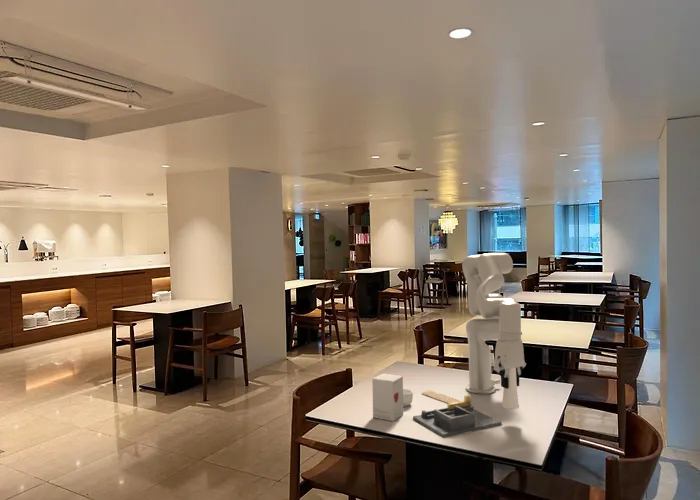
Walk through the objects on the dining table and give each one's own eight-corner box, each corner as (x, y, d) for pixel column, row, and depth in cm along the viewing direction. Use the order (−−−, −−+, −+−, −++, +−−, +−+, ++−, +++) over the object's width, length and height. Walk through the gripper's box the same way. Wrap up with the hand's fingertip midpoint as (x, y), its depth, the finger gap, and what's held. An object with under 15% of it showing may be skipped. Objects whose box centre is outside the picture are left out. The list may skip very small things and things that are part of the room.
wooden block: (468, 406, 191) (468, 394, 191) (471, 408, 190) (470, 395, 190) (447, 411, 187) (447, 398, 187) (449, 412, 186) (449, 399, 186)
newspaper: (421, 395, 213) (421, 391, 213) (433, 392, 217) (433, 388, 217) (461, 410, 193) (461, 406, 193) (473, 406, 197) (473, 402, 197)
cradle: (467, 408, 193) (467, 396, 193) (501, 424, 175) (501, 410, 175) (413, 419, 182) (412, 405, 182) (443, 437, 165) (443, 422, 165)
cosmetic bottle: (509, 410, 172) (509, 348, 171) (498, 404, 178) (497, 345, 177) (522, 407, 175) (522, 346, 174) (511, 402, 180) (510, 343, 179)
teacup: (416, 406, 197) (416, 393, 197) (399, 408, 194) (398, 395, 194) (405, 399, 206) (405, 386, 206) (388, 401, 204) (388, 388, 204)
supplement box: (393, 421, 180) (392, 381, 180) (372, 417, 185) (371, 378, 185) (404, 414, 188) (403, 375, 188) (383, 410, 193) (382, 372, 192)
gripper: (520, 331, 182) (520, 380, 183) (484, 336, 175) (484, 387, 176) (535, 335, 175) (535, 385, 176) (498, 341, 168) (499, 393, 169)
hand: (510, 385), depth 176 cm, fingers closed on cosmetic bottle, 4 cm apart
